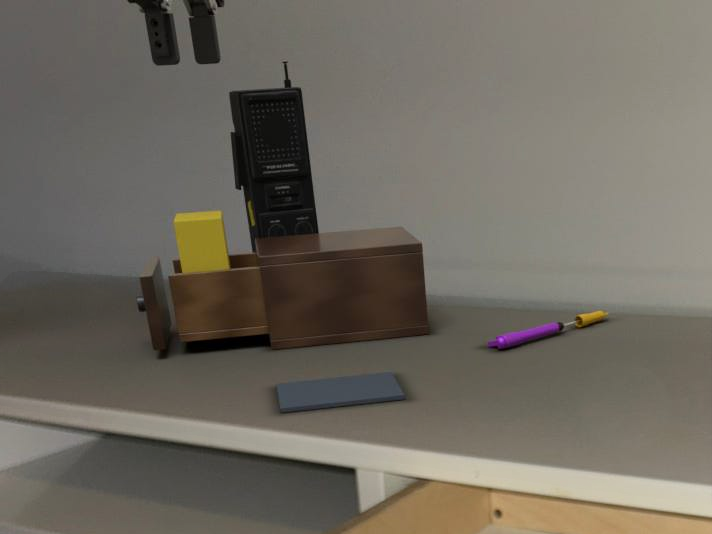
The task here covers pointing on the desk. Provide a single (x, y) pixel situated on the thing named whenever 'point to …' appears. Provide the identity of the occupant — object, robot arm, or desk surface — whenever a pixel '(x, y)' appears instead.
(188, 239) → the block
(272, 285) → the cabinet
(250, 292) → the drawer
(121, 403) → the desk surface
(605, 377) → the desk surface
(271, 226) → the portable radio
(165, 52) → the robot arm
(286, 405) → the mat
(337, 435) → the desk surface
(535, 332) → the purple soldering iron
